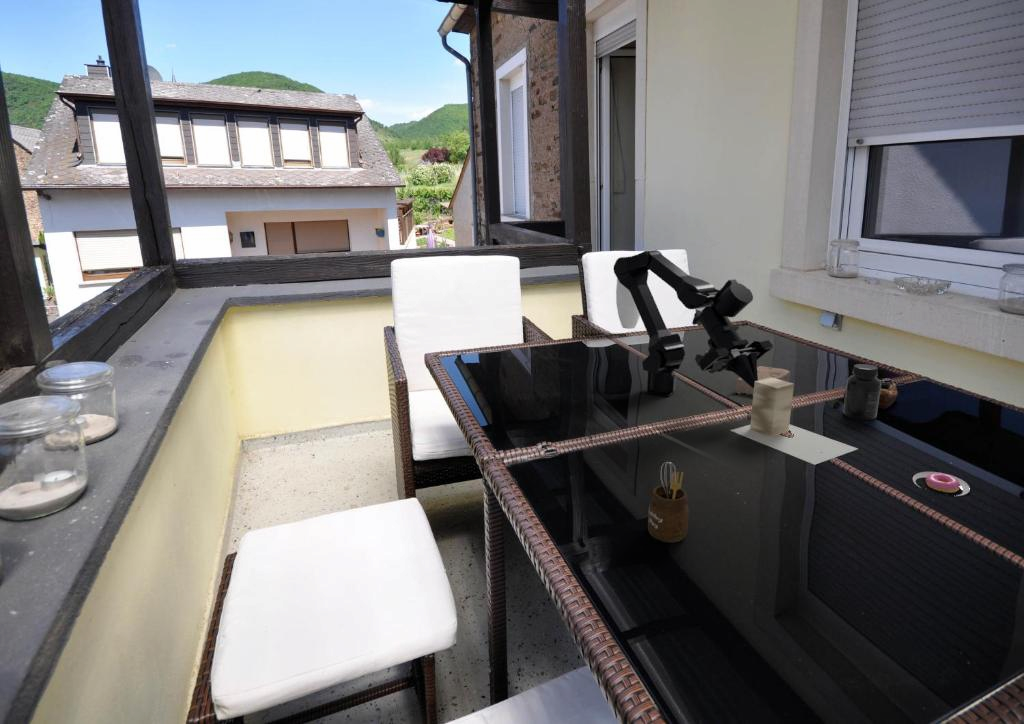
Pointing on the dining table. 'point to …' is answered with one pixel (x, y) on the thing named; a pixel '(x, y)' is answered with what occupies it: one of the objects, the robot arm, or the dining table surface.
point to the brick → (762, 374)
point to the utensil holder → (668, 511)
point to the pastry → (885, 395)
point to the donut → (943, 482)
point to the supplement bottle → (862, 393)
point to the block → (771, 406)
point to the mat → (800, 444)
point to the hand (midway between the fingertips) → (755, 386)
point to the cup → (626, 307)
